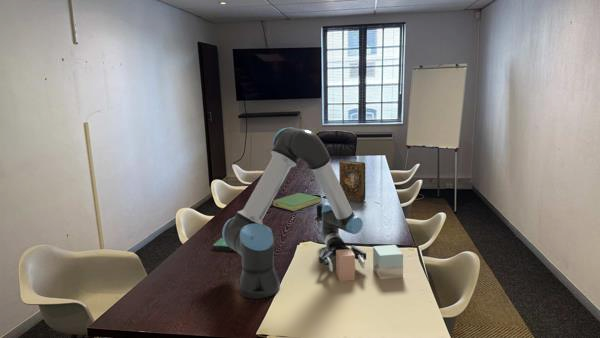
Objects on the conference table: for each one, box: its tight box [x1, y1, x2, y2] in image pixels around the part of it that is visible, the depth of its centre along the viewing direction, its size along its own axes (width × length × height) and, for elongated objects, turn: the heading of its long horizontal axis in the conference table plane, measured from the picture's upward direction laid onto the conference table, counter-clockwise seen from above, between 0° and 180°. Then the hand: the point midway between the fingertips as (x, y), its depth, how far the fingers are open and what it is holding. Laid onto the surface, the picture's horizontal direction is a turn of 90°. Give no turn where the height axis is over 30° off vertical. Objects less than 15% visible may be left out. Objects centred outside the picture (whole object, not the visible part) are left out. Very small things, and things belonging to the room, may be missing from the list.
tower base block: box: [372, 258, 404, 280], centre depth 157 cm, size 9×9×5 cm
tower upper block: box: [372, 244, 404, 268], centre depth 156 cm, size 9×9×5 cm
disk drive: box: [212, 236, 236, 252], centre depth 189 cm, size 10×3×15 cm
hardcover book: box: [271, 192, 321, 212], centre depth 253 cm, size 25×19×4 cm
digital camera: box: [316, 203, 323, 219], centre depth 229 cm, size 10×5×7 cm, turn 134°
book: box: [338, 160, 366, 203], centre depth 256 cm, size 16×6×25 cm, turn 58°
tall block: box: [335, 249, 356, 282], centre depth 155 cm, size 6×6×10 cm
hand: (347, 266), depth 151 cm, fingers open, 12 cm apart
